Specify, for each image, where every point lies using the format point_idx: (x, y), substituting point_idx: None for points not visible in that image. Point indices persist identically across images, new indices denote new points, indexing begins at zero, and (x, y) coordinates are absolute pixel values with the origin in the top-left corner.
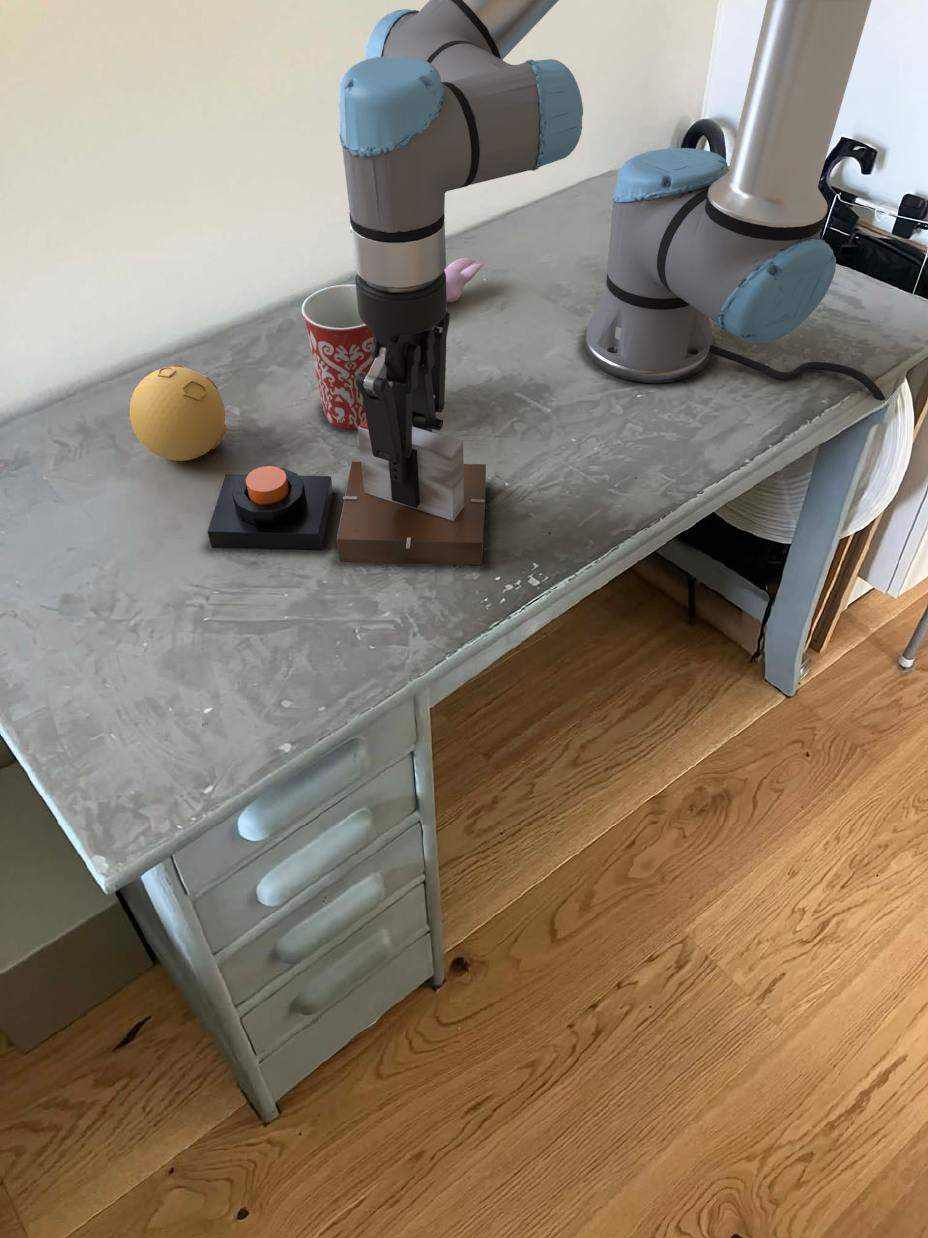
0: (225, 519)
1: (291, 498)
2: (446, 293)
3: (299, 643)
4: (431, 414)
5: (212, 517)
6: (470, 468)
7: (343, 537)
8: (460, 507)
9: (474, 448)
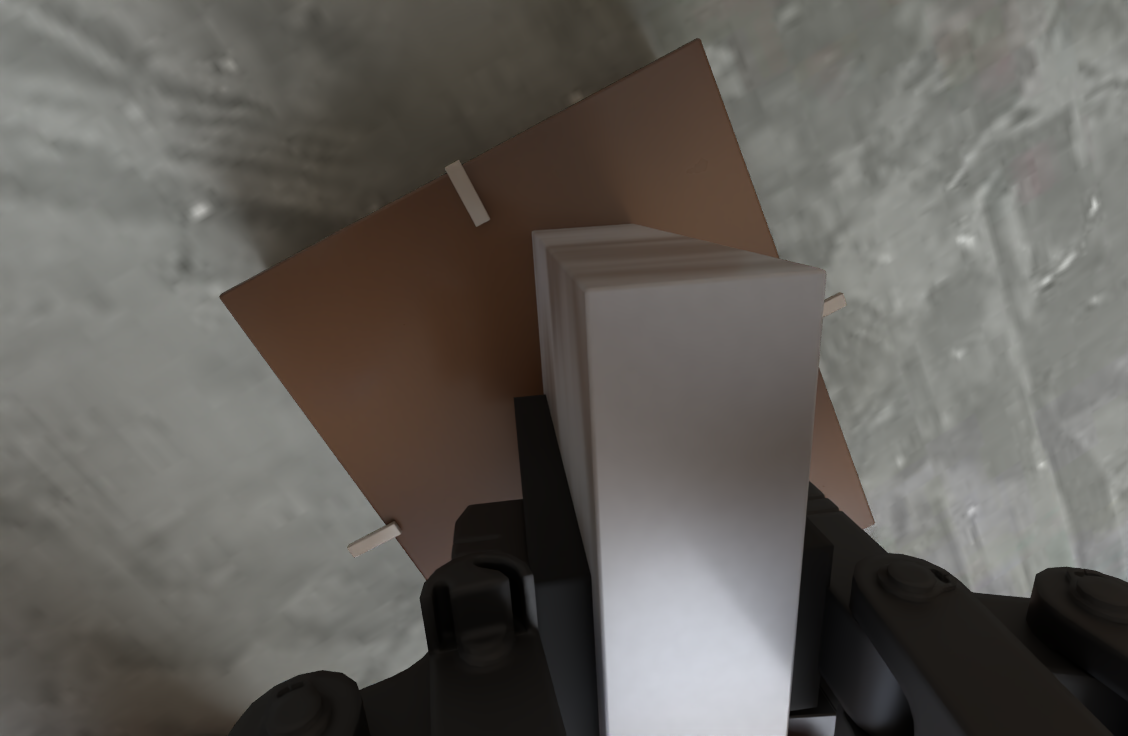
0: None
1: (802, 730)
2: None
3: (1116, 385)
4: (516, 728)
5: None
6: (290, 339)
7: (861, 510)
8: (571, 229)
9: (101, 427)
